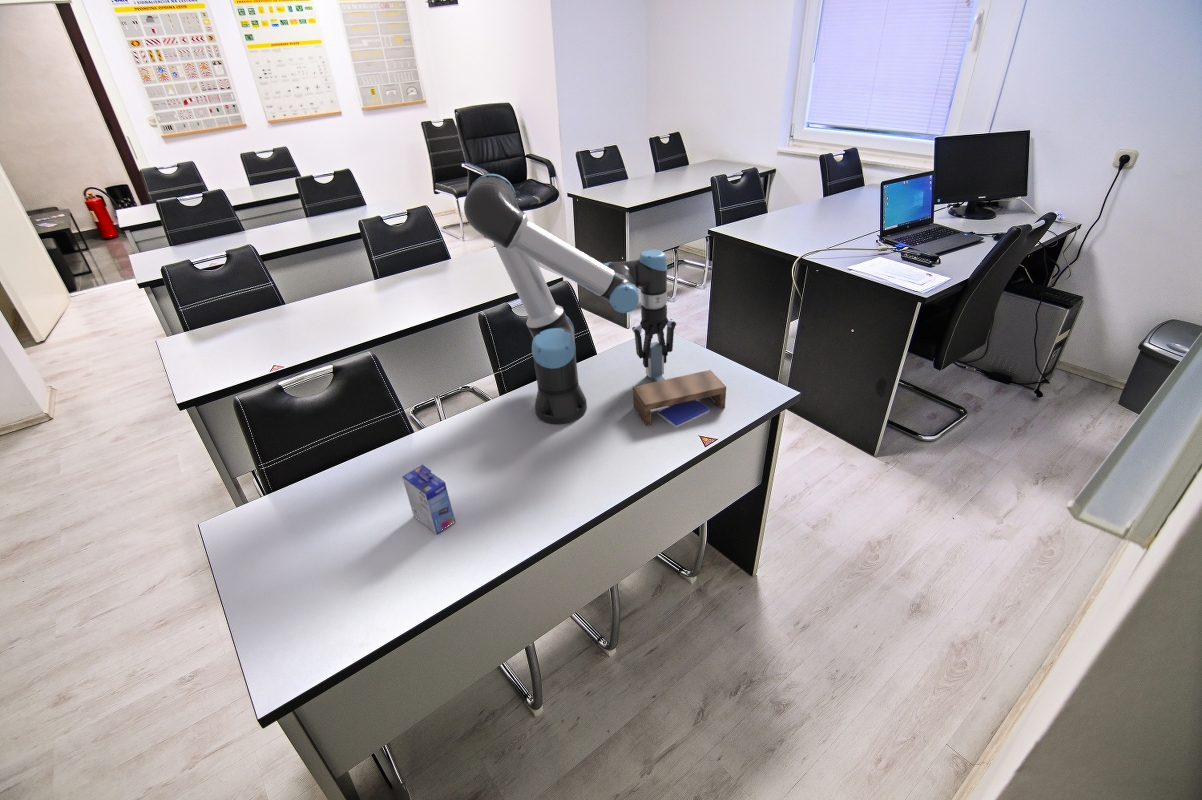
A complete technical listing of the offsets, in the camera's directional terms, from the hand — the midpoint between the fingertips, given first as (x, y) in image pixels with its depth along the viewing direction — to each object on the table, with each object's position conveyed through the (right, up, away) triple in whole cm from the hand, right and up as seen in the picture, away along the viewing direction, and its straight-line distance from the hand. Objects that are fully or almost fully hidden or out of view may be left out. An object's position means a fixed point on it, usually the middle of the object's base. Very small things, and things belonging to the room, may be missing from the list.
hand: (654, 373), depth 177 cm
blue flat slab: (+7, -12, -17) cm, 22 cm away
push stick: (+2, -5, -6) cm, 8 cm away
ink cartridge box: (-55, -36, -46) cm, 80 cm away
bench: (+6, -10, -15) cm, 19 cm away
